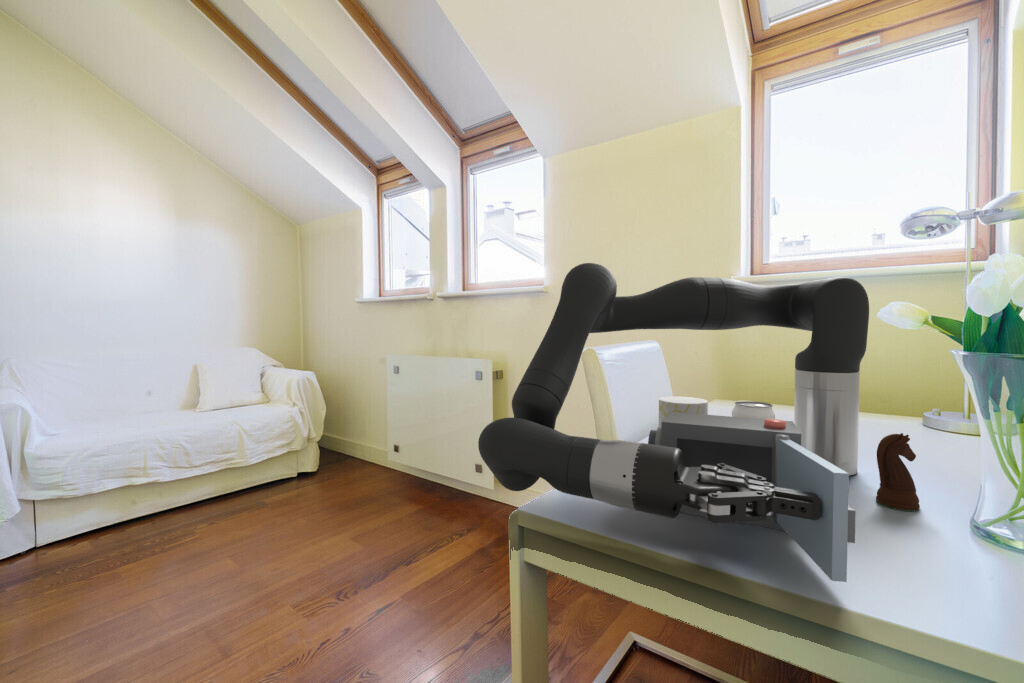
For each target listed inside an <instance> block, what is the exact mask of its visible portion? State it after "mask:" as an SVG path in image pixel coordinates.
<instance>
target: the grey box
mask: <svg viewBox="0 0 1024 683" xmlns="http://www.w3.org/2000/svg"><path fill="white" fill-rule="evenodd" d="M777 434H782V435H788V436H789V439H790V440H792V441H793V442H795V443H797V444H798V445H800V446H801V433H800V431H799V430H798V428H797V427H796V426H795V424H794V420H793V421H791V420H783V419H778V418H775V419H756V418H743V417H732V416H729V415H715V414H708V415H704V414H691V413H678V412H668V413H667V415H666V416H665V418H664V419H663V420H662V427H659V426H658V427H657V429H651V430H650V431H649V435H648V442H647V444H652V445H660V446H667V447H674V448H679V449H680V450H681V451H682V452H683V455H684V464H685V466H687V467H701V465H710V466H716V467H717V464H720V463H724V464H726V465H729V466H732V467H735V468H738V469H741V470H744V471H747V472H749V473H752V474H755V475H758V476H762V477H764V478H766V482H769V483H771V484H773V488H775V450H776V435H777ZM680 513H681V514H688V515H693V516H698V517H705V518H707V512H702V511H699V510H698V509H695V508H691V507H688V506H686V505H681V510H680ZM680 513H679V514H680ZM774 514H775V513H774V512H773V515H766V520H765V521H749V522H738V523H740V524H745V525H752V526H757V527H763V528H768V529H776V530H781V531H785V530H784V529H783V528H782V527H781V525H778V524H776V523H775V522H774Z"/></svg>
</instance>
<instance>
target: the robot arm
mask: <svg viewBox="0 0 1024 683" xmlns="http://www.w3.org/2000/svg"><path fill="white" fill-rule="evenodd" d="M561 285H562V286H561V291H560V296H559V301H558V304H557V306H556V309H555V311H554V314H553V315H552V316H553V317H552V319H551V321H550V324H549V326H548V329H546V332H545V333H544V336H543V338H542V341H540V342H541V343H540V344H539V346H538V348H537V350H536V351H535V353H534V356H533V358H532V359H531V361H530V363H529V364H528V366H527V369H526V370H525V372H524V374H523V376H522V377H521V380H520V382H519V383H518V386H517V388H516V389H515V392H514V394H513V395H512V399H511V411H512V413H513V417H503V418H499V419H495V420H494V421H492V422H490V423H489V424H487V425H486V426H485V427H484V428H483V430H481V433H480V434H479V437H478V445H477V446H478V451H479V452H478V453H479V454H480V457H481V459H482V461H483V463H484V464H486V466H487V468H488V469H489V470H490V471H491V473H492V474H493V475H494V478H496V480H497V482H499V484H500V485H501V486H502V487H504V488H505V489H507V490H509V491H512V492H520V491H526V490H527V489H529V488H531V487H532V486H533V485H535V484H536V483H537V482H538V480H539V479H543V480H544V481H545V482H547V483H548V484H549V485H550V486H551V487H552V488H553V489H555V490H557V491H559V492H561V493H564V494H567V495H572V496H575V497H576V496H577V497H582V498H586V499H591V500H595V501H599V502H602V503H605V504H608V505H611V506H614V507H618V508H622V509H627V510H632V511H637V512H642V513H646V514H652V515H656V516H661V517H665V518H671V519H675V518H677V517H678V516H679V514H680V510H681V505H686V506H688V507H691V508H695V509H698V510H699V511H702V512H707V517H706V519H707V521H708V522H709V523H713V524H727V523H728V524H729V523H731V524H732V523H739V522H749V521H765V520H766V515H773V512H774V513H777V514H783V515H788V516H793V517H799V518H804V519H810V520H818V519H819V518H820V500H819V498H818V496H817V495H816V494H815V493H811V492H805V491H799V490H792V489H786V488H780V487H775V488H773V484H771V483H769V482H766V478H764V477H762V476H758V475H755V474H752V473H749V472H747V471H744V470H741V469H738V468H735V467H732V466H729V465H726V464H724V463H720V464H717V467H716V466H710V465H701V467H687V466H685V464H684V455H683V452H682V451H681V450H680V449H679V448H674V447H667V446H660V445H652V444H648V443H644V442H638V441H637V442H636V441H629V440H620V439H619V440H618V439H617V440H616V439H598V438H591V437H584V436H576V435H568V434H566V433H563V432H561V431H559V430H557V429H555V428H556V422H557V419H558V416H559V414H560V412H561V409H562V407H563V405H564V403H565V400H566V398H567V396H568V393H569V391H570V389H571V386H572V384H573V381H574V378H575V375H576V373H577V371H578V366H579V363H580V360H581V357H582V354H583V350H584V349H585V348H584V347H585V344H586V343H587V340H588V337H589V335H590V334H596V333H597V334H598V333H610V332H611V333H612V332H621V331H632V330H633V331H634V330H636V331H637V330H693V331H695V330H696V331H724V330H725V331H726V330H735V329H737V330H738V329H744V328H748V327H755V326H756V327H757V326H765V327H766V326H767V327H778V328H786V329H787V328H788V329H793V330H794V329H795V330H800V331H801V330H802V331H807V332H808V331H809V332H811V336H810V337H811V339H810V342H809V344H808V346H807V347H806V348H805V349H803V350H802V351H800V352H797V353H796V355H795V359H794V409H793V410H794V411H793V412H794V414H793V415H794V416H793V417H794V420H793V423H794V424H795V426H796V427H797V428H798V430H799V431H800V433H801V446H802V447H804V448H805V449H807V450H809V451H811V452H812V453H814V454H816V455H818V456H819V457H821V458H823V459H824V460H826V461H828V462H830V463H831V464H833V465H835V466H837V467H838V468H840V469H842V470H844V471H845V472H847V473H849V476H853V475H856V474H858V467H859V466H858V465H859V464H858V460H859V459H858V458H859V457H858V456H859V454H858V453H859V428H860V427H859V426H860V422H859V420H860V418H859V417H860V416H859V415H860V368H861V367H860V366H861V362H862V361H863V358H864V356H865V354H866V351H867V343H868V332H869V331H868V330H869V322H870V321H869V320H870V301H869V300H870V299H869V296H868V293H867V291H866V289H865V287H864V286H863V284H862V283H860V282H859V281H858V280H856V279H854V278H852V277H848V276H836V277H828V278H822V279H816V280H810V281H804V282H799V283H789V284H779V285H778V284H777V285H761V284H755V283H750V282H747V281H743V280H739V279H734V278H728V277H727V278H726V277H710V276H709V277H707V276H705V277H703V276H701V277H697V276H695V277H694V276H693V277H685V278H681V279H678V280H674V281H672V282H668V283H667V284H664V285H661V286H659V287H657V288H654V289H651V290H649V291H646V292H644V293H643V292H642V293H640V294H636V295H626V296H622V295H621V296H617V290H618V289H617V288H618V286H617V279H616V278H615V276H614V274H613V273H612V271H611V270H609V269H608V268H607V267H606V266H604V265H602V264H599V263H593V262H585V263H580V264H578V265H575V266H574V267H572V268H571V269H570V270H569V271H568V272H567V273H566V276H564V280H563V282H562V284H561Z"/></svg>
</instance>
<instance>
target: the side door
mask: <svg viewBox="0 0 1024 683" xmlns="http://www.w3.org/2000/svg"><path fill="white" fill-rule="evenodd" d="M849 478H850V475H849V473H847V472H845V471H844V470H842V469H840V468H838V467H837V466H835V465H833V464H831V463H830V462H828V461H826V460H824V459H823V458H821V457H819V456H818V455H816V454H814V453H812V452H811V451H809V450H807V449H805V448H804V447H802V446H800V445H798V444H797V443H795V442H793V441H792V440H790V439H789V436H788V435H782V434H777V435H776V450H775V487H780V488H786V489H792V490H799V491H805V492H811V493H815V494H816V495H817V496H818V498H819V500H820V518H819V519H818V520H810V519H804V518H799V517H793V516H788V515H783V514H777V513H775V514H774V522H775V523H776V524H778V525H781V527H782V528H783V529H784V530H783V531H784V532H786V534H788V535H789V536H790V537H791V538H792V540H793V541H795V543H796V544H797V545H798V546H799V548H801V549H802V550H803V551H804V553H805V554H806V555H807V556H808V557H809V559H811V560H812V561H813V562H814V563H815V564H816V566H817V567H819V569H820V570H821V571H822V572H823V573H824V574H825V575H826V576H827V578H828V579H830V580H831V581H832V582H839V583H842V582H843V583H847V580H848V579H847V578H848V576H847V575H848V543H851V544H855V543H856V510H855V509H854V508H852V507H851V506H850V505H849V484H850V483H849V482H850V480H849Z"/></svg>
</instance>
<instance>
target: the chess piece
mask: <svg viewBox="0 0 1024 683" xmlns="http://www.w3.org/2000/svg"><path fill="white" fill-rule="evenodd" d="M909 441H911V438H910V437H909V434H906V435H904V433H902V432H901V433H891V434H888V435H885V436H884V437H883V438H881V440H880V441H879V442H878V445H877V449H876V461H877V468H878V472H879V481H880V483H879V487H878V489H877V490H876V491H877V492H876V496H875V500H876V502H877V504H879V505H881V506H883V507H887V508H889V509H892V510H896V511H904V512H917V511H919V510H920V508H921V507H920V506H921V505H920V504H919V503H920V499H919V496H918V495H917V488H916V484H915V481H914V480H913V477H912V474H911V473H910V471H909V469H908V468H907V466H906V464H905V463H904V462H903V460H902V458H901V457H903V458H905V459H907V461H909V462H913V461H915V459H916V457H917V454H915V452H914V451H913V450H912V448H911V446H910V444H909V443H908V442H909Z"/></svg>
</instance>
